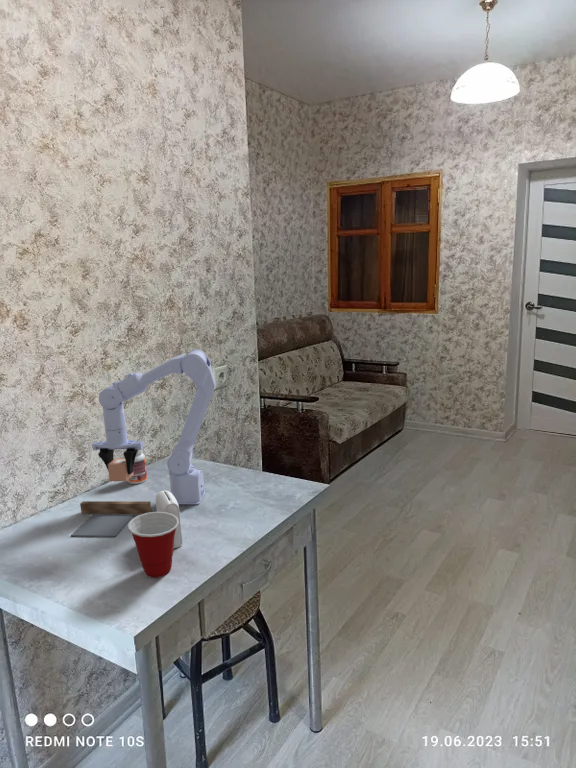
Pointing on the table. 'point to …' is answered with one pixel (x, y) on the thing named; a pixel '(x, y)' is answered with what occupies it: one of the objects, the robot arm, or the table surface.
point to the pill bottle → (139, 469)
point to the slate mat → (103, 525)
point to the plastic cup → (154, 541)
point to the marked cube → (118, 470)
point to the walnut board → (115, 507)
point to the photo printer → (170, 505)
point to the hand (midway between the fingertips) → (121, 473)
